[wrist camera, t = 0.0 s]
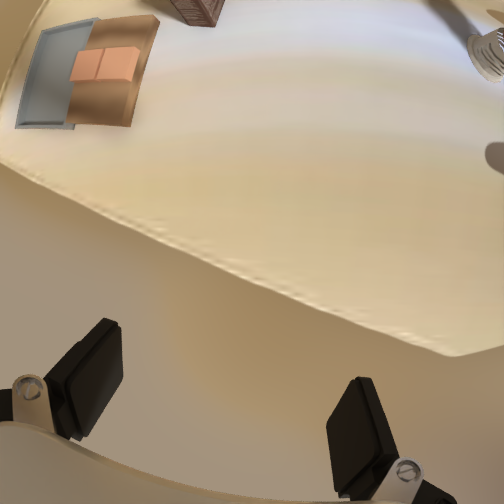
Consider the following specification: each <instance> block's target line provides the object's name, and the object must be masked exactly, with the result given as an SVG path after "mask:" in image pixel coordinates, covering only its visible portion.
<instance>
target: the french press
mask: <svg viewBox="0 0 504 504" xmlns="http://www.w3.org/2000/svg"><path fill="white" fill-rule="evenodd" d="M497 31H498V32H500V33H503V35H501V34H499V33H497ZM497 35H499V36H501V37H503V38H504V28H499V29H496V30H494V31H492V32H490V33H488V34H486V35H484V36H482V37H481V36H479V35H471V36H470V37H469V38H468V40H467V49H468V53H469V57H470V59H471V61H472V63H473V65H474V66H475V68H476V69H477V70H478V72H479V73H480V74H481V75H482V76H483V77H484V78H486V79H487V80H488V81H490V82H493V83H498V82H500V81H501V80H502V78H503V75H504V73H503V72H504V52H503V50H502V48H501V47H500V45H499V43H500V44H501V45H502V46H503V47H504V44H503V43H502V42H501V41H499V40H498V39H500V40H502V41H503V42H504V39H502V38H500V37H498V36H497Z"/></svg>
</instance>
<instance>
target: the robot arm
mask: <svg viewBox="0 0 504 504" xmlns="http://www.w3.org/2000/svg"><path fill="white" fill-rule="evenodd" d="M122 379H123V361H122V338H121V327H119V326H118V323H117V322H116V321H113V320H110V319H107V318H103V319H102V320H101V321H100V322H99V323H98V324H97V325H96V326H95V327H94V328H93V329H92V330H91V331H90V332H89V333H88V334H87V335H86V336H85V337H84V338H83V339H82V340H81V341H79V342H77V343H76V344H75V345H74V346H73V347H72V348H71V349H70V350H69V351H68V352H67V353H66V354H65V356H63V357H62V358H61V359H60V361H59V362H58V363H57V364H56V365H55V366H54V367H53V368H52V369H51V370H50V371H49V373H47V375H46V376H45V377H44V378H43V379H41V378H40V377H39V376H36V375H32V374H27V375H23V376H21V377H18V378H17V379H16V380H15V382H14V383H13V387H12V389H2V390H0V504H457V502H456V500H455V499H454V497H453V496H451V495H450V494H448V493H446V492H444V491H442V490H441V489H439V488H437V487H435V486H434V485H432V484H430V483H429V482H427V481H425V480H424V479H423V477H424V470H423V467H422V465H421V464H420V463H419V462H418V461H416V460H415V459H413V458H410V457H402V458H400V457H399V454H398V451H397V448H396V445H395V442H394V439H393V436H392V433H391V430H390V427H389V424H388V421H387V419H386V416H385V413H384V411H383V408H382V405H381V403H380V400H379V397H378V395H377V392H376V389H375V387H374V384H373V381H372V379H371V378H367V377H356V378H355V380H351V382H350V383H349V385H348V387H347V389H346V391H345V392H344V394H343V396H342V397H341V399H340V401H339V403H338V404H337V406H336V408H335V409H334V411H333V413H332V415H331V416H330V418H329V419H328V421H327V425H326V429H327V436H328V444H329V451H330V459H331V466H332V473H333V482H334V490H335V492H338V496H339V498H350V501H344V502H304V501H303V502H302V501H283V500H272V499H261V498H253V497H246V496H239V495H233V494H227V493H221V492H216V491H211V490H206V489H202V488H197V487H193V486H189V485H185V484H181V483H178V482H174V481H171V480H167V479H164V478H161V477H157V476H154V475H151V474H148V473H145V472H142V471H139V470H136V469H134V468H131V467H128V466H126V465H123V464H121V463H118V462H116V461H113V460H111V459H109V458H106V457H104V456H101V455H99V454H97V453H95V452H92V451H90V450H88V449H86V448H84V447H81V446H80V445H77V444H75V443H73V442H71V441H69V440H70V438H71V437H72V438H74V439H76V440H78V441H81V440H82V438H83V436H84V437H87V436H88V435H89V433H90V432H91V430H92V428H93V427H94V425H95V424H96V422H97V420H98V418H99V417H100V415H101V414H102V412H103V410H104V409H105V407H106V406H107V404H108V402H109V401H110V399H111V398H112V396H113V394H114V393H115V391H116V390H117V388H118V387H119V385H120V383H121V382H122Z"/></svg>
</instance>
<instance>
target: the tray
mask: <svg viewBox="0 0 504 504" xmlns="http://www.w3.org/2000/svg"><path fill="white" fill-rule="evenodd" d="M99 20H101V19H99V18H98V17H97V18H92V19H86V20H81V21H77V22H72V23H68V24H64V25H60V26H56V27H53V28H49V29H46V30H42V31H41V34H40V37H39V39H38V42H37V45H36V48H35V50H34V53H33V56H32V59H31V63H30V66H29V69H28V73H27V76H26V80H25V84H24V87H23V91H22V96H21V100H20V104H19V109H18V114H17V119H16V125H15V129H71V130H74V127H75V124H73V123H65V122H66V117H67V112H68V108H69V103H70V99H71V95H72V91H73V87H74V82H71V81H69V80H70V76H71V73H72V69H73V66H74V63H75V60H76V57H77V54H78V51H84V50H85V47H86V44H87V41H88V38H89V36H90V33H91V30H92V28H93V25H94V23H95V21H99Z"/></svg>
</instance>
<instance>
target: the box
mask: <svg viewBox="0 0 504 504" xmlns="http://www.w3.org/2000/svg"><path fill="white" fill-rule="evenodd" d="M170 1H171V3H172V4H173V5H174V6H175V8H176V9H177V10H178V11H179V13H180V14H181V15H182V17H183V18H184V19H185V20H186V22H187V23H188V24H189V26H201V27H215V26H216V23H217V21H218V18H219V15H220V12H221V10H222V7H223V4H224V1H225V0H170Z"/></svg>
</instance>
